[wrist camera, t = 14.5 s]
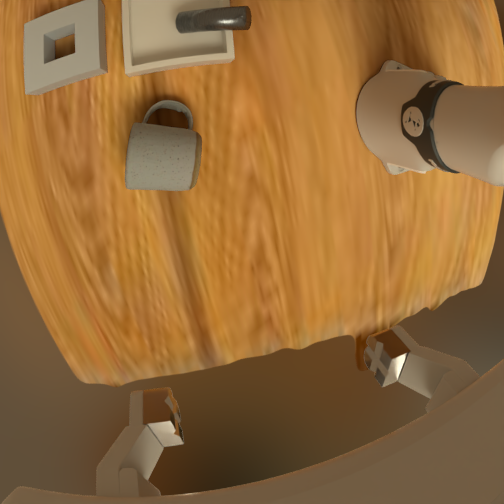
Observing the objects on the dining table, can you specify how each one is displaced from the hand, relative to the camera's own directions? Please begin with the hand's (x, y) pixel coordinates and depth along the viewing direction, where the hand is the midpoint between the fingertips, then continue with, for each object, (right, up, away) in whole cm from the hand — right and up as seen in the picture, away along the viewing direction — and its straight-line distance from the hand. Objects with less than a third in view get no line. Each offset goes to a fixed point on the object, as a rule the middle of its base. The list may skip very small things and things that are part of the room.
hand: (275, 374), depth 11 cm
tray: (-10, +33, +17) cm, 38 cm away
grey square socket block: (-24, +30, +14) cm, 41 cm away
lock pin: (-9, +31, +16) cm, 36 cm away
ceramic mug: (-12, +18, +24) cm, 32 cm away
